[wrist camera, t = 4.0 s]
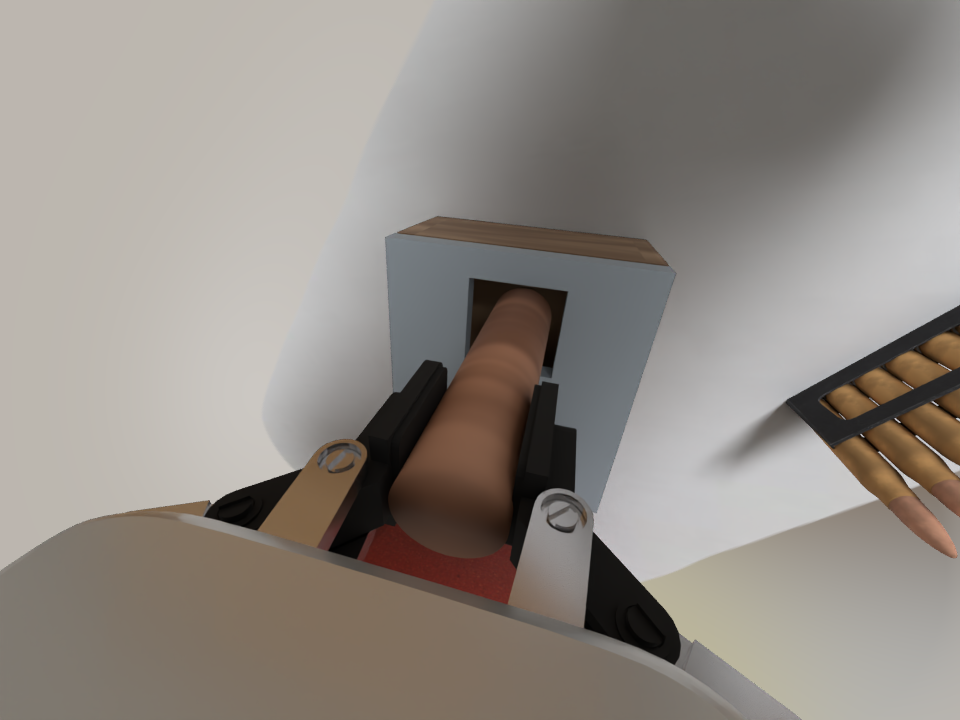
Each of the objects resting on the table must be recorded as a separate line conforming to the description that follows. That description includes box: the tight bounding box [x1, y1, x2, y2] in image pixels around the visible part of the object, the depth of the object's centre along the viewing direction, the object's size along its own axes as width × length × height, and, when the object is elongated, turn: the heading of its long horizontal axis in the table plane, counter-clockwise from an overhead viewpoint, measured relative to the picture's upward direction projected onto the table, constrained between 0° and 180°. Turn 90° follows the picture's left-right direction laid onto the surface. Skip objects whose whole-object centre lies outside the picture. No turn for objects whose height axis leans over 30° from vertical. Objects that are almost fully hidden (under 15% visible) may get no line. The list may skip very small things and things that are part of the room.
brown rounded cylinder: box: [388, 288, 552, 558], centre depth 14 cm, size 3×3×12 cm
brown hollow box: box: [397, 216, 669, 368], centre depth 26 cm, size 16×14×7 cm
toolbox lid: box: [385, 233, 676, 513], centre depth 20 cm, size 16×14×6 cm
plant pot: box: [363, 523, 517, 605], centre depth 32 cm, size 19×19×17 cm
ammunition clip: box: [786, 305, 960, 558], centre depth 19 cm, size 11×2×12 cm, turn 141°
